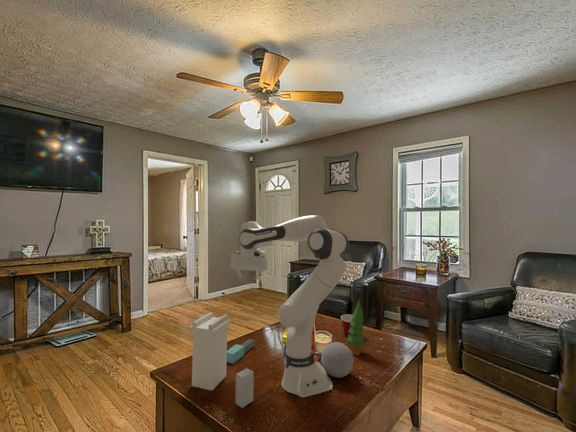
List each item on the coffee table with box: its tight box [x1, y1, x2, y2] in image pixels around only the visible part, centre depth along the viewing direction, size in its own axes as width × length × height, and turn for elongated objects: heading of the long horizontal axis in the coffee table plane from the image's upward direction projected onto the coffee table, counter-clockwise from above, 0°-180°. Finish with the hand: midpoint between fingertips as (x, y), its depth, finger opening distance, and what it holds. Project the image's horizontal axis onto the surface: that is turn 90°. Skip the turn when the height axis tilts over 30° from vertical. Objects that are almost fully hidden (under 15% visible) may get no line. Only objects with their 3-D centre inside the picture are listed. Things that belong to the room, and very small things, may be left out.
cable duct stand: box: [189, 311, 232, 391], centre depth 132 cm, size 14×12×28 cm
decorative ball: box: [320, 341, 355, 379], centre depth 139 cm, size 15×15×15 cm
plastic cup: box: [340, 314, 353, 339], centre depth 184 cm, size 11×11×12 cm
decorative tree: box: [346, 298, 365, 355], centre depth 163 cm, size 10×9×30 cm
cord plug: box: [227, 338, 255, 365], centre depth 158 cm, size 22×5×5 cm, turn 157°
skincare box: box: [235, 367, 255, 409], centre depth 117 cm, size 6×4×12 cm
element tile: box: [281, 327, 289, 344], centre depth 179 cm, size 15×15×5 cm
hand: (248, 278), depth 155 cm, fingers open, 8 cm apart
